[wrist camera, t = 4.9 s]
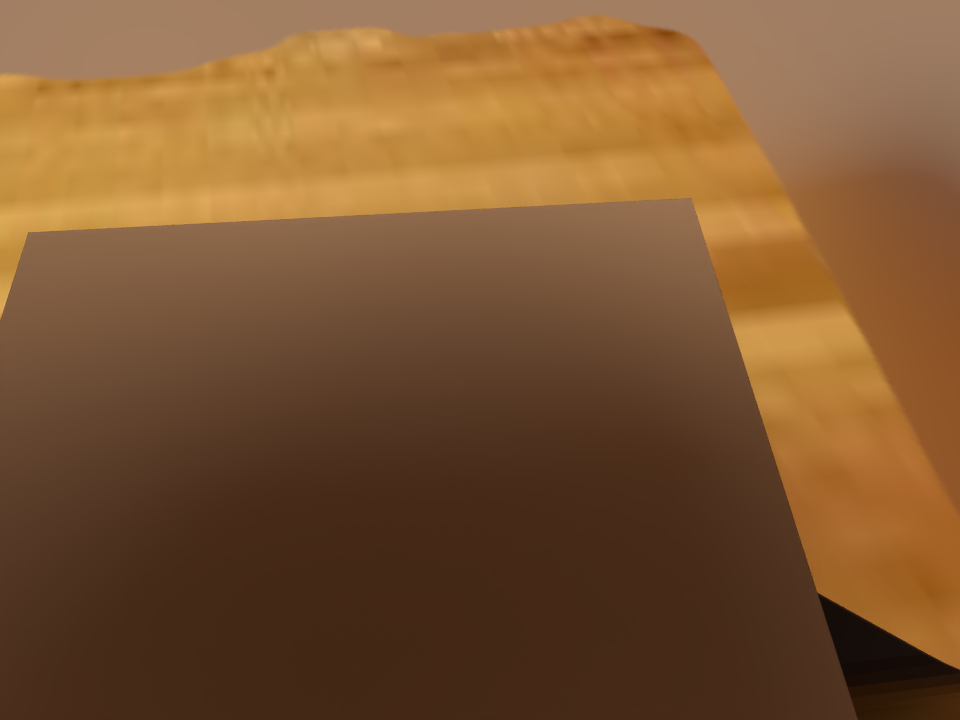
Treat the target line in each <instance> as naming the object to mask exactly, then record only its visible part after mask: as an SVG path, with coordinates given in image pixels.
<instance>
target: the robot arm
mask: <svg viewBox="0 0 960 720" xmlns="http://www.w3.org/2000/svg"><path fill="white" fill-rule="evenodd" d="M818 597H819V600H820V603H821V606H822V609H823V612H824V615H825V619H826V622H827V625H828V628H829V631H830V634H831V637H832V640H833V644H834V647H835V650H836V653H837V656H838V659H839V662H840V666H841V669H842V672H843V675H844V678H845V681H846V684H847V687H848V691H849V694H850V697H851V700H852V703H853V706H854V709H855V713H856V716H857V719H858V720H960V670H959V669H957V668H955V667H952V666H950V665H948V664H946V663H944V662H942V661H940V660H938V659H936V658H934V657H932V656H930V655H928V654H926V653H925V652H923V651H921V650H919V649H917V648H916V647H914V646H912V645H910V644H908V643H907V642H905V641H903V640H901V639H899V638H898V637H896V636H894V635H892V634H891V633H889V632H887V631H885V630H883V629H882V628H880V627H878V626H876V625H874V624H873V623H871V622H869V621H867V620H865V619H864V618H862V617H860V616H858V615H856V614H855V613H853V612H851V611H849V610H847V609H846V608H844V607H842V606H840V605H838V604H837V603H835V602H833V601H831V600H830V599H828V598H826V597H824V596H822V595H821V594H819V593H818Z"/></svg>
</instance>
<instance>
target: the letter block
mask: <svg viewBox="0 0 960 720" xmlns="http://www.w3.org/2000/svg"><path fill="white" fill-rule="evenodd" d="M0 720H858V719H857V716H856V713H855V709H854V706H853V703H852V700H851V697H850V694H849V691H848V687H847V684H846V681H845V678H844V675H843V672H842V669H841V666H840V662H839V659H838V656H837V653H836V650H835V647H834V644H833V640H832V637H831V634H830V631H829V628H828V625H827V622H826V619H825V615H824V612H823V609H822V606H821V603H820V600H819V597H818V593H817V590H816V587H815V584H814V581H813V578H812V575H811V572H810V568H809V565H808V562H807V559H806V556H805V553H804V550H803V547H802V543H801V540H800V537H799V534H798V531H797V528H796V525H795V521H794V518H793V515H792V512H791V509H790V506H789V503H788V500H787V496H786V493H785V490H784V487H783V484H782V481H781V478H780V474H779V471H778V468H777V465H776V462H775V459H774V456H773V453H772V449H771V446H770V443H769V440H768V437H767V434H766V431H765V427H764V424H763V421H762V418H761V415H760V412H759V409H758V406H757V402H756V399H755V396H754V393H753V390H752V387H751V384H750V381H749V377H748V374H747V371H746V368H745V365H744V362H743V359H742V355H741V352H740V349H739V346H738V343H737V340H736V337H735V334H734V330H733V327H732V324H731V321H730V318H729V315H728V312H727V308H726V305H725V302H724V299H723V296H722V293H721V290H720V287H719V283H718V280H717V277H716V274H715V271H714V268H713V265H712V261H711V258H710V255H709V252H708V249H707V246H706V243H705V240H704V236H703V233H702V230H701V227H700V224H699V221H698V218H697V214H696V211H695V208H694V205H693V202H692V199H691V198H684V199H665V200H646V201H626V202H607V203H588V204H569V205H549V206H530V207H511V208H492V209H472V210H453V211H434V212H415V213H395V214H376V215H357V216H338V217H318V218H299V219H280V220H261V221H242V222H222V223H203V224H184V225H165V226H145V227H126V228H107V229H88V230H68V231H49V232H30V233H28V235H27V238H26V241H25V245H24V248H23V251H22V254H21V257H20V260H19V264H18V267H17V270H16V273H15V276H14V279H13V282H12V286H11V289H10V292H9V295H8V298H7V301H6V305H5V308H4V311H3V314H2V317H1V320H0Z"/></svg>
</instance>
